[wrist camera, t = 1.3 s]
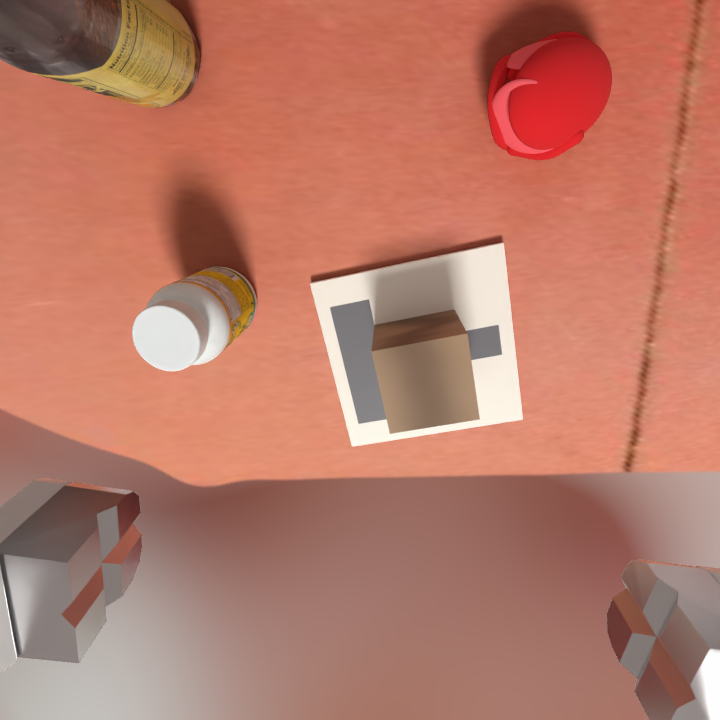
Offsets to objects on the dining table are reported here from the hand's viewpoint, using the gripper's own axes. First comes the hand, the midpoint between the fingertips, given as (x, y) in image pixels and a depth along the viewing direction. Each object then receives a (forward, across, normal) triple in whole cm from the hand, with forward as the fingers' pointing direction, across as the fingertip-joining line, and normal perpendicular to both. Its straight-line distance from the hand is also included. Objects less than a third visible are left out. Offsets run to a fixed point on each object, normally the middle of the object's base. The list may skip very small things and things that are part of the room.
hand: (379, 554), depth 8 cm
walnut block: (+27, -4, +5) cm, 28 cm away
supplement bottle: (+28, +12, +3) cm, 30 cm away
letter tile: (+27, -4, +5) cm, 28 cm away
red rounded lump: (+27, -8, -12) cm, 31 cm away
